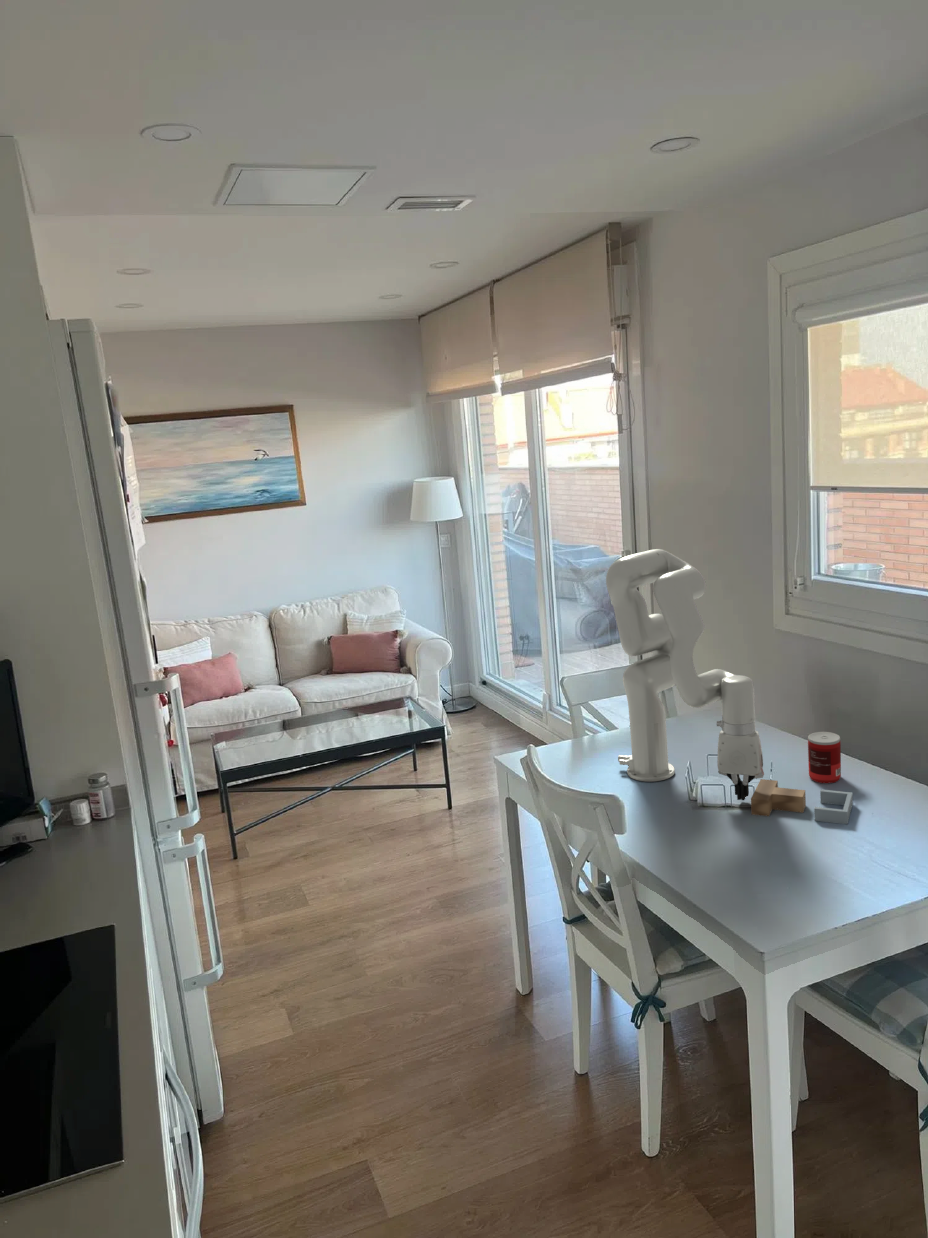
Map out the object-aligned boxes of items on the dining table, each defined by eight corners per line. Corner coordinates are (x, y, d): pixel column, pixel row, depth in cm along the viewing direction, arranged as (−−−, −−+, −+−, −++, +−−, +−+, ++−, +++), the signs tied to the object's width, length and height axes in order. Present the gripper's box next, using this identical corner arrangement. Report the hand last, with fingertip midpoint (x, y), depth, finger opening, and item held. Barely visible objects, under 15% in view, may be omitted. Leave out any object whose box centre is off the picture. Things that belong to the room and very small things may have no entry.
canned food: (835, 770, 231) (834, 730, 229) (845, 783, 224) (844, 741, 221) (804, 772, 232) (803, 732, 230) (813, 784, 225) (812, 743, 222)
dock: (814, 820, 206) (814, 808, 205) (821, 801, 215) (820, 789, 215) (847, 824, 203) (847, 812, 202) (852, 804, 212) (852, 792, 211)
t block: (751, 814, 212) (750, 798, 212) (761, 794, 223) (760, 779, 222) (800, 820, 207) (799, 804, 206) (808, 799, 217) (807, 783, 216)
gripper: (703, 730, 215) (707, 801, 219) (768, 734, 208) (770, 808, 212) (711, 719, 222) (714, 788, 226) (774, 723, 214) (776, 795, 218)
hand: (742, 797), depth 219 cm, fingers closed
